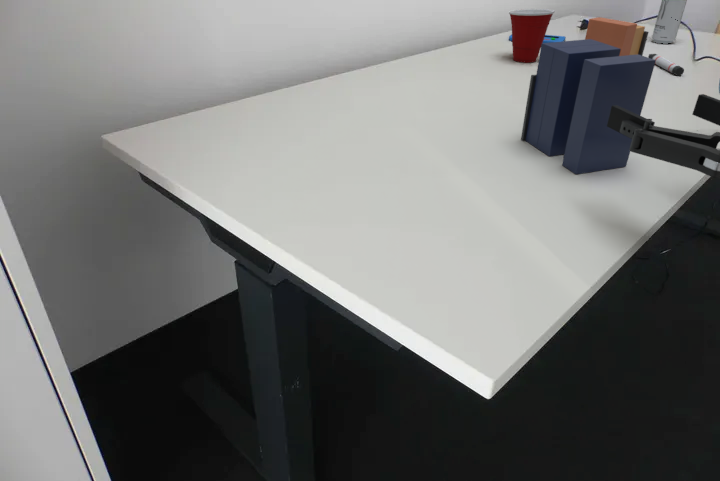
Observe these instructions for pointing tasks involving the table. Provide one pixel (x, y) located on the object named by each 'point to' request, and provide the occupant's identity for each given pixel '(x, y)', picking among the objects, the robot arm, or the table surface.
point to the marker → (667, 64)
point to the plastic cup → (528, 32)
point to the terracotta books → (618, 35)
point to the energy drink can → (668, 21)
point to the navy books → (557, 92)
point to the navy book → (605, 111)
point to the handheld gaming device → (548, 38)
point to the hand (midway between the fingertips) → (655, 109)
